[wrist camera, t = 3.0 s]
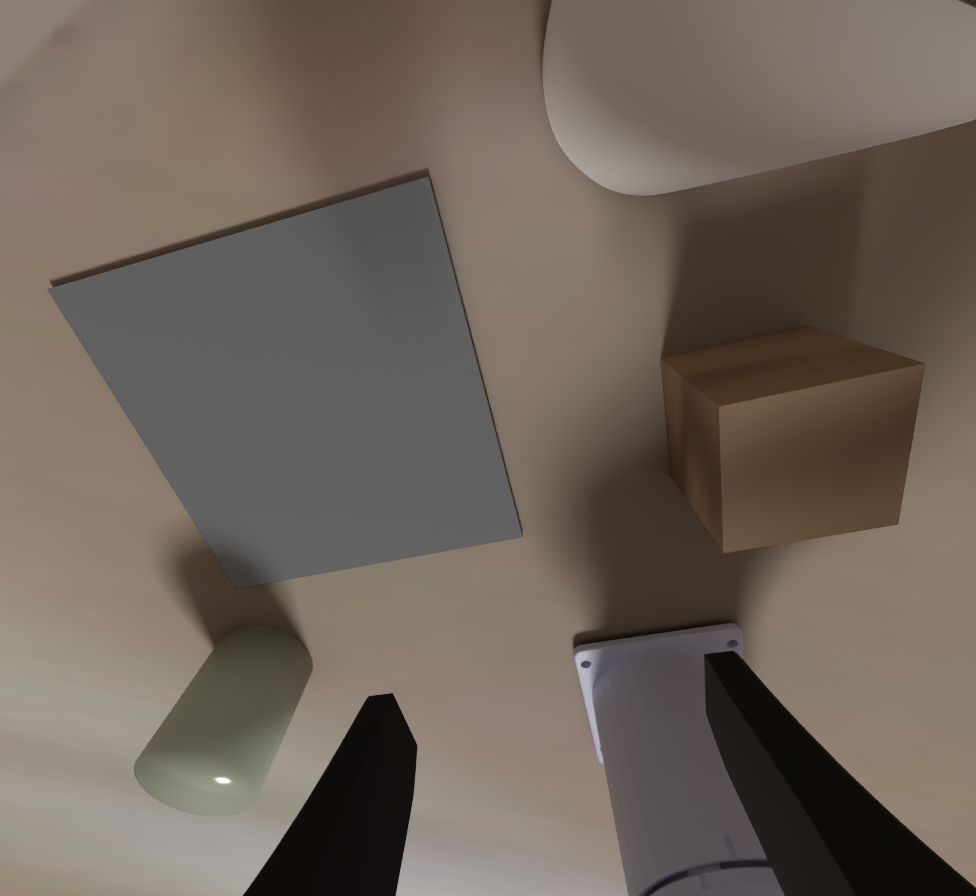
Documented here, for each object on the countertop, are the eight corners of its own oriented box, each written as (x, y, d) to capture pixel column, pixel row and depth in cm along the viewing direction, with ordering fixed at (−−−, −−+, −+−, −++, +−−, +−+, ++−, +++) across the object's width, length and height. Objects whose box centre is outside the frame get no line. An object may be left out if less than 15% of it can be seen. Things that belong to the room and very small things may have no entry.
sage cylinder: (327, 683, 25) (278, 810, 19) (245, 695, 25) (175, 821, 20) (288, 617, 23) (221, 738, 17) (200, 632, 23) (108, 753, 18)
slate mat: (522, 534, 20) (522, 537, 20) (237, 585, 22) (235, 588, 22) (429, 177, 14) (428, 176, 14) (52, 288, 16) (47, 289, 16)
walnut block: (799, 450, 18) (898, 524, 13) (669, 475, 19) (723, 553, 14) (805, 325, 16) (925, 363, 11) (659, 358, 16) (718, 406, 12)
